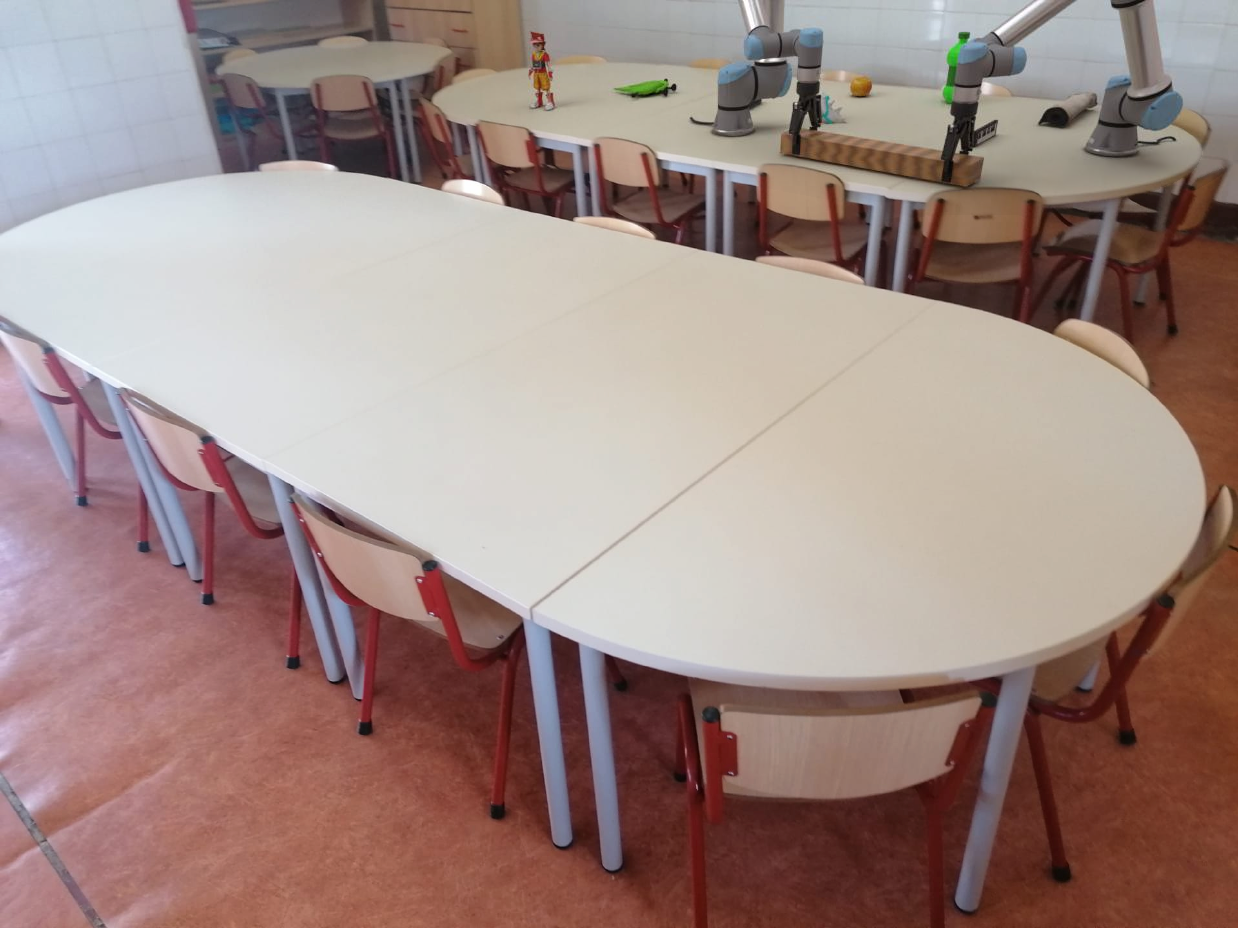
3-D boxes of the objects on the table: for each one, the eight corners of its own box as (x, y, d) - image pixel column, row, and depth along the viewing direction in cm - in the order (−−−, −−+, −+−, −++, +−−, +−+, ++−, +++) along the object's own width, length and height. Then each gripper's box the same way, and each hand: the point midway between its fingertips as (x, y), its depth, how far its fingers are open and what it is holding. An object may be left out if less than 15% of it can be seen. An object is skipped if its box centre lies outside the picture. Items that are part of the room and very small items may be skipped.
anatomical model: (809, 92, 345) (834, 85, 344) (812, 119, 351) (837, 112, 350) (819, 101, 333) (845, 94, 332) (822, 129, 339) (848, 122, 338)
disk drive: (746, 111, 360) (762, 102, 370) (746, 104, 358) (762, 95, 368) (723, 109, 364) (739, 100, 374) (723, 102, 363) (739, 93, 373)
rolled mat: (1065, 97, 339) (1089, 80, 331) (1078, 117, 340) (1103, 101, 331) (1034, 118, 322) (1058, 101, 314) (1048, 140, 322) (1073, 123, 314)
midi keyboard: (974, 147, 304) (977, 131, 301) (970, 146, 305) (973, 131, 302) (995, 135, 315) (998, 120, 312) (992, 134, 315) (994, 119, 313)
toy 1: (525, 109, 381) (517, 32, 364) (534, 104, 388) (527, 28, 371) (550, 110, 377) (543, 32, 360) (559, 105, 384) (553, 28, 367)
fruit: (845, 88, 367) (857, 70, 364) (847, 92, 375) (859, 74, 372) (862, 99, 366) (874, 81, 363) (864, 103, 374) (876, 85, 371)
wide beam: (780, 153, 308) (780, 133, 304) (795, 146, 313) (796, 127, 310) (966, 187, 269) (970, 165, 266) (980, 178, 275) (984, 157, 271)
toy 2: (686, 85, 398) (631, 84, 414) (685, 72, 395) (629, 72, 411) (651, 104, 381) (596, 103, 397) (650, 92, 378) (594, 91, 394)
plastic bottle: (973, 101, 354) (984, 32, 339) (955, 106, 349) (966, 36, 335) (952, 97, 361) (962, 29, 346) (934, 102, 356) (944, 33, 342)
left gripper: (799, 89, 285) (795, 160, 298) (836, 75, 298) (830, 144, 311) (779, 86, 289) (776, 157, 302) (816, 73, 302) (812, 141, 315)
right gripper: (960, 111, 254) (948, 189, 267) (994, 94, 267) (980, 170, 280) (935, 107, 258) (924, 185, 271) (969, 91, 271) (958, 166, 284)
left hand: (804, 150), depth 306 cm, fingers closed on wide beam, 9 cm apart
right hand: (953, 177), depth 275 cm, fingers closed on wide beam, 9 cm apart
